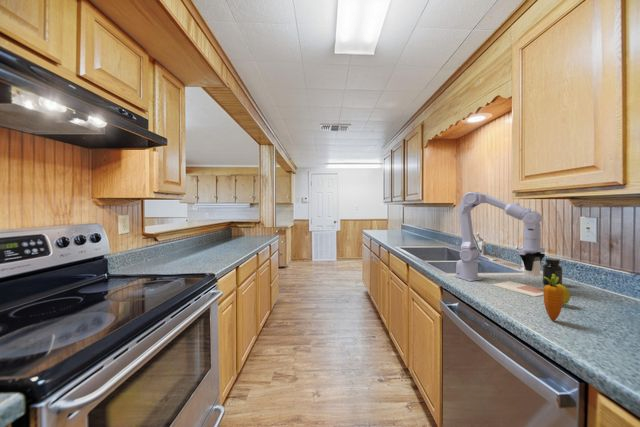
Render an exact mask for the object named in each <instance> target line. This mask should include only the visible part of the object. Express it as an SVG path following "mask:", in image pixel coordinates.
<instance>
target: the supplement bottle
mask: <svg viewBox="0 0 640 427" xmlns="http://www.w3.org/2000/svg"><path fill="white" fill-rule="evenodd" d="M560 262H561V261H560V259H557V258H545V263H544V264H543V265H542V284H543V285H545V286H546V285H550V283H549V282H548V281H547V280H546V279H544V277H547V278H548V279H549V280H551V277H552V274H555V275H556V277H559V280H558V282H557V284H556V285H558V284H561V285H563V267H562V266H561V265H560Z"/></svg>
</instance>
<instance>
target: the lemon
mask: <svg viewBox="0 0 640 427" xmlns="http://www.w3.org/2000/svg"><path fill="white" fill-rule="evenodd" d="M556 286H559V287H561V288H562V289H563V291H564V294H563V304H562V305H566V304H568V303H569V301H570V299H571V292H570V290H569V288H567V287H566V286H565V285H563V284H562V285H561V284H558V285H556Z"/></svg>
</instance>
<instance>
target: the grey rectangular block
mask: <svg viewBox="0 0 640 427" xmlns="http://www.w3.org/2000/svg"><path fill="white" fill-rule="evenodd" d="M523 274H524V275H525V276H526V275H527V276H532V277H538V276H541V263H540V257H538V256H536V257H535V259H534V262H533V268H532V271H528V270H525V266H524V265H523Z"/></svg>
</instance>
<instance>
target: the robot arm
mask: <svg viewBox="0 0 640 427" xmlns="http://www.w3.org/2000/svg"><path fill="white" fill-rule="evenodd" d="M481 204H489V205H491V206H493V207H496V208H498V209H501V210H503V211H504V212H505V214H506V215H507V216H510V217H511V218H514V219H517V220H519V221H522V222H523V223H524V225H523V226H524V227H523V248H521V249H518V254H519V255H518V256H519V257H520V260H522V262H523V267H524V266H525V270H528V271H532V268H533V262H534V259H535V257H536V256H538V257H540V264H541V263H542V261H543V259H544V258H545V256H546V254H545V250H546V248H544V247H542V246H541V245H542V244H541V243H542V240H541V239H542V235H541V234H542V228H541V222H542V220H543V216H542V214H541V213H540V212H538V211H537V210H532V208H530V207H528V208H527V207H524V206H522V205H521V204H520V203H518V202H511V203H507V202H504V201H502V200H501V199H498V198H496V197H493V196H492V195H489V194H486V193H483V192H479V191H477V192H475V191H468V192H466V193H465V194H463V196H461V201H460V204H459V206H458V216H459V226H460V233H461V242H462V243H461V245H460V252H459V257H460V259H459V260H457V261H456V265H455V266H456V268H455V275H454V277H455V278H459V279H462V280H466V281H469V282H474V281H480V280H483V278H481V277H478V276H479V271H478V270H479V268H478V266H479V265H478V264H479V261H478V259H479V257H480V255H481V254H480V251H479V249H478V247H477V244H476V242H475V238H474V231H473V228H474V227H473V223H472V222H473V221H472V214H471V213H472V212H471V211H472V210H474V208H476V207H477V206H479V205H481Z"/></svg>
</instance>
